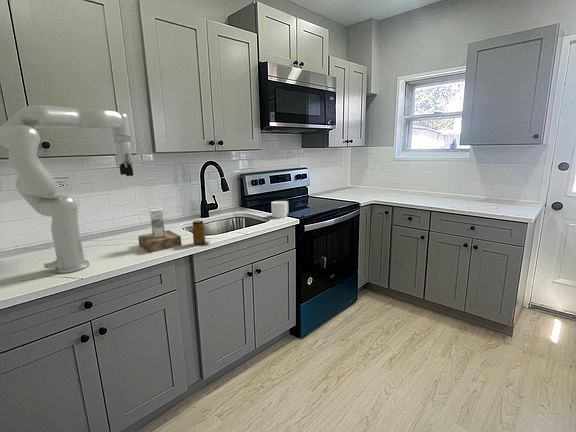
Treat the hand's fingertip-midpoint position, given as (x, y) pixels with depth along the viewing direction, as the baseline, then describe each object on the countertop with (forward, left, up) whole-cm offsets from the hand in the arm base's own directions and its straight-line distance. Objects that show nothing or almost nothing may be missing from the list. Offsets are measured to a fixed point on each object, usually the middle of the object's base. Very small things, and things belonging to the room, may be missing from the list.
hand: (126, 175), depth 159 cm
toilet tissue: (+95, -3, -37) cm, 102 cm away
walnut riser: (+9, -10, -36) cm, 39 cm away
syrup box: (+9, -10, -32) cm, 34 cm away
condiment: (+26, -22, -37) cm, 50 cm away
